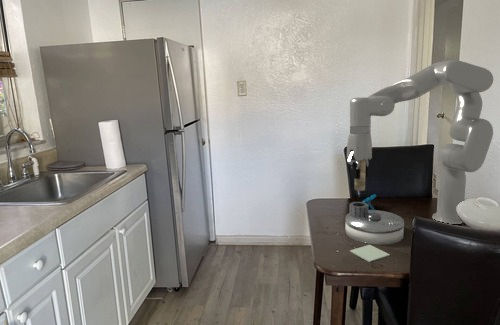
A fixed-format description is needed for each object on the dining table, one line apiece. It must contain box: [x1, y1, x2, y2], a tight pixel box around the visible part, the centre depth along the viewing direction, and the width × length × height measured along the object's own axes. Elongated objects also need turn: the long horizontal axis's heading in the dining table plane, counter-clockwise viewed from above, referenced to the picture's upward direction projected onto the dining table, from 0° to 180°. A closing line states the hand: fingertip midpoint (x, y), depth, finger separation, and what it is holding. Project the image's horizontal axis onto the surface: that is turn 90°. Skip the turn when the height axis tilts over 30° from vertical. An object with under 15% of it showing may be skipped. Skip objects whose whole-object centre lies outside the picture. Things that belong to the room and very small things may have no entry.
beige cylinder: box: [353, 158, 366, 192], centre depth 135 cm, size 4×4×14 cm
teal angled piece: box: [361, 193, 377, 210], centre depth 160 cm, size 11×6×10 cm
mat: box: [349, 244, 391, 263], centre depth 117 cm, size 9×9×1 cm
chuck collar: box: [345, 201, 405, 233], centre depth 132 cm, size 21×21×6 cm
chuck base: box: [344, 223, 405, 246], centre depth 133 cm, size 21×21×4 cm
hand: (359, 176), depth 135 cm, fingers closed on beige cylinder, 4 cm apart
